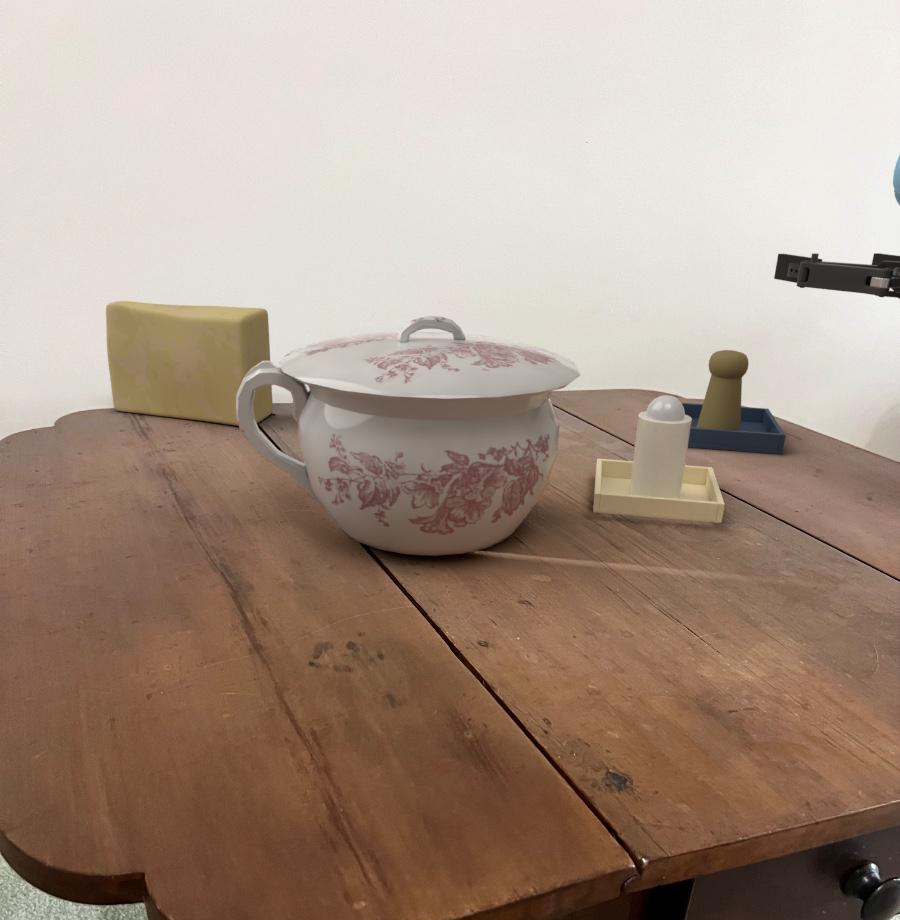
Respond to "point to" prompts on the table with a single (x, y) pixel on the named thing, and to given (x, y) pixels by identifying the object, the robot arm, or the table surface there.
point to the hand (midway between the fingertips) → (827, 265)
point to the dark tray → (738, 432)
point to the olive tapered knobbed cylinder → (724, 391)
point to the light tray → (695, 502)
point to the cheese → (185, 359)
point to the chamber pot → (418, 433)
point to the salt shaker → (660, 449)
